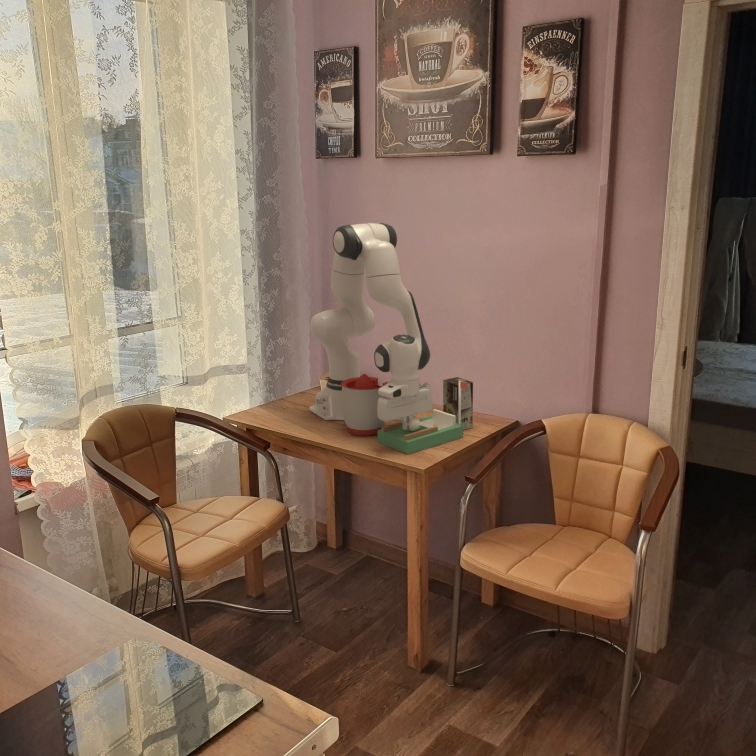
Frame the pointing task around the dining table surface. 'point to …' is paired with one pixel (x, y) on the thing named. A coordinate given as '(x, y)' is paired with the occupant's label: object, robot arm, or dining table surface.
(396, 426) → the mini golf course
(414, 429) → the ball
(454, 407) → the coffee box
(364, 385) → the citrus juicer
